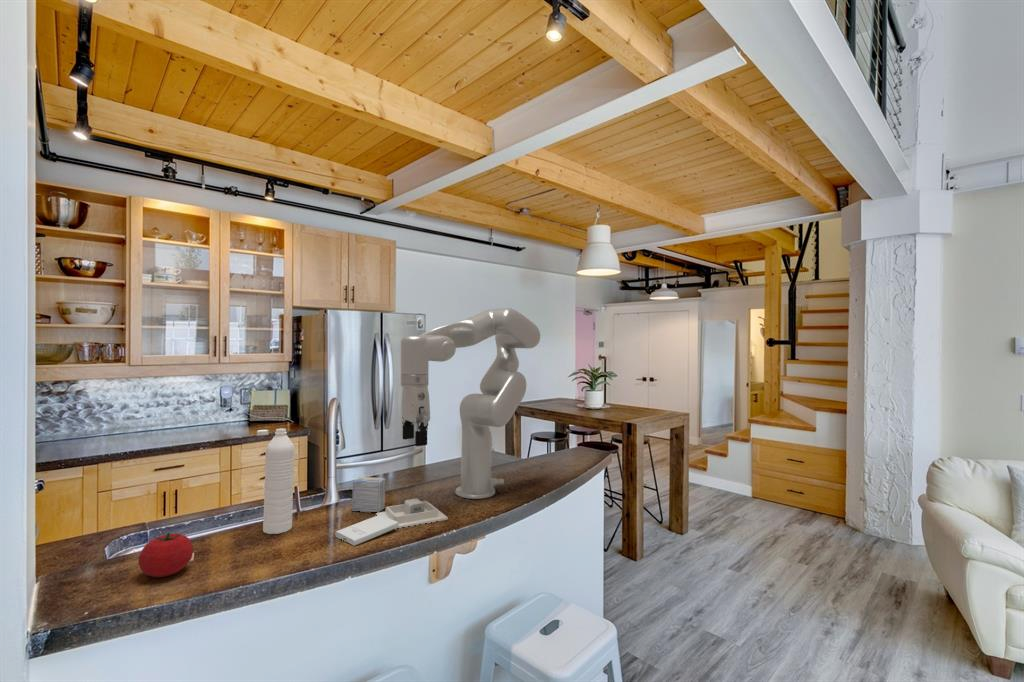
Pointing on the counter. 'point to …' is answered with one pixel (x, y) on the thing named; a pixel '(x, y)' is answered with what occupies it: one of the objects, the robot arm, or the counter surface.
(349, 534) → the external hard drive
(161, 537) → the tomato
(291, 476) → the water bottle
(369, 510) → the medicine box
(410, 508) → the usb wall charger
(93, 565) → the counter surface
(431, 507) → the outlet plate
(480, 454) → the robot arm
